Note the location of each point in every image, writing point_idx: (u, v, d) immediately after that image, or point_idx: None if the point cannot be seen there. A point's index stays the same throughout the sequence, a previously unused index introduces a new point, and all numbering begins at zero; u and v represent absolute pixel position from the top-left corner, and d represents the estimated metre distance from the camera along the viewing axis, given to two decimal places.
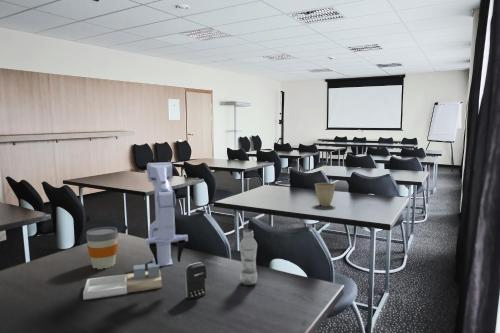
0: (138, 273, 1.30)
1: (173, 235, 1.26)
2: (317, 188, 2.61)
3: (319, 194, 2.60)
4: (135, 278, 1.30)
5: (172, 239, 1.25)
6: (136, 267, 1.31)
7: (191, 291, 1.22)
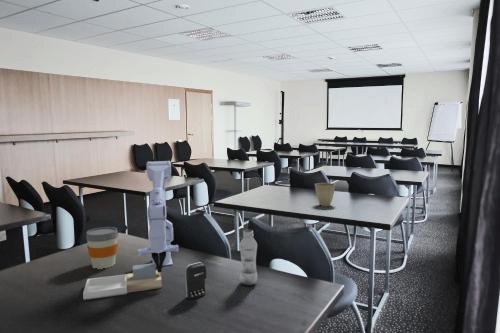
0: (137, 273, 1.30)
1: (164, 246, 1.32)
2: (317, 188, 2.61)
3: (319, 194, 2.60)
4: (134, 278, 1.30)
5: (163, 249, 1.31)
6: (135, 267, 1.31)
7: (191, 291, 1.22)
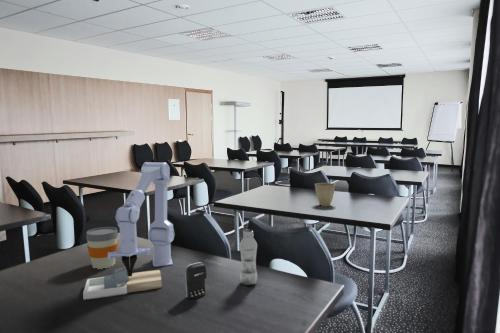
0: (109, 285, 1.28)
1: (135, 249, 1.29)
2: (317, 188, 2.61)
3: (319, 194, 2.60)
4: (114, 287, 1.28)
5: (133, 253, 1.28)
6: None
7: (191, 291, 1.22)
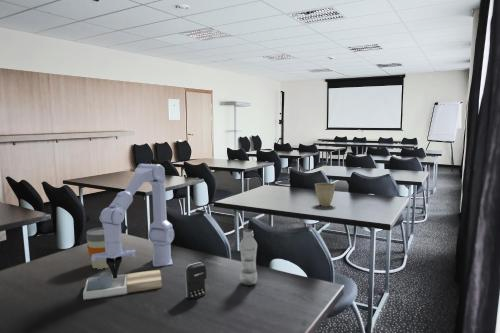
0: (93, 288, 1.26)
1: (119, 250, 1.27)
2: (317, 188, 2.61)
3: (319, 194, 2.60)
4: None
5: (118, 254, 1.27)
6: None
7: (191, 291, 1.22)
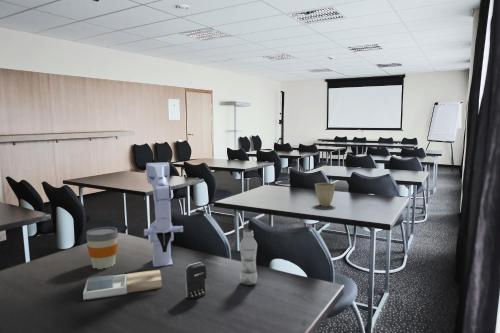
0: (93, 288, 1.26)
1: (169, 226, 1.36)
2: (317, 188, 2.61)
3: (319, 194, 2.60)
4: None
5: (168, 230, 1.35)
6: None
7: (191, 291, 1.22)
